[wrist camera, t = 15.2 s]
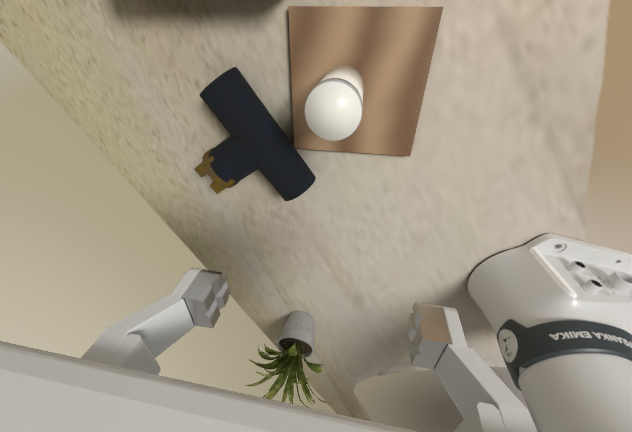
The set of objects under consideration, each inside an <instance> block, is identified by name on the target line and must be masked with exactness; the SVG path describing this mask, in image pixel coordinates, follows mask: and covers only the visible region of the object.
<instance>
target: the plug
mask: <svg viewBox="0 0 632 432" xmlns="http://www.w3.org/2000/svg"><path fill="white" fill-rule="evenodd" d="M363 92H364V82H363V78H362V76H361V74H360V72H359V71H358V70H357V69H356V68H355V67H353V66H351V65H347V64H340V65H337V66H335V67H333V68H332V69H330V70H329V71H328V73H327V74H326V75H325V76H324V77H323V79H322V80H321V81H320V82H319V83H318V84H317V85H316V86H315V87H314V89H313V90H312V91H311V92H310V94H309V95H308V97H307V99H306V103H305V108H304V113H305V119H306V122H307V124H308V126H309V128H310V129H311V130H312V132H313V133H315V134H316V135H317V136H318V137H320V138H322V139H325V140H329V141H338V140H342V139H345V138H347V137H349V136H350V135H351V134H352V133H353V132H354V131H355V130H356V129H357V128H358V126H359V124H360V122H361V118H362V110H363V104H362V103H363Z"/></svg>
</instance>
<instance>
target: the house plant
mask: <svg viewBox="0 0 632 432" xmlns="http://www.w3.org/2000/svg"><path fill="white" fill-rule="evenodd" d="M277 347H278V349H279V350H280V351H281V352H277V351H274V350H272V349H269V348H268V347H266V346H265V350H266V352H267V353H268V354H266V353H264V352H260V350H259V349H258V351H259V354H260V356H261V357H262V358H264V359H267V360H273V359H276V358H277V359H276V360H274V361H273V362H272V363H269V364H260V363H255V362H254V361H252V360H251V361H252V362H253V363H254V364H256V365H257V366H260V367H262V368H265V370H266V369H275V368H277V369H276V370H275V371H274V372H270V371H268V370H266V371H267V372H268V373H271V374H270V375H265V374H262V373H259V372H257V373H259V374H260V375H263V376H267V377H265V378H263V379H262V380H261V381H259V382H257V383H255V384H251V385H248V386H255V385H259V384H261V383H263V382H265V381H266V380H268V379H270V378H271V377H272V376H274V375H278V374H280V375H279V376H278V378H277V380H276V381H275V383H274V384H273V385H272V387H271V388H270V389H269V392H268V393H267V394H266V395H265V396H264V397H266V396H267V397H266V399H270V400H271V399H272V398H273V397H274V396H275V395H276V393H277V392H278V391H279V389H280V388H281V387H282V386H283V384H284V383H285V380H286V377H287V375H288V379H287V382H286V386H285V389H284V393H283V399H282V402H285V400H286V397H287V393H288V395H289V400H290V403H291V404H293V396H294V393H293V392H294V391H293V386H294V383H296V384H298V383H300V384H301V385H302V389H303V391H304V393H305V395H306V398H307V400H308V402H309V403H311V402H310V401H309V399H308V397H309V398H310V400H311V401H313V402H314V400H313V398H312V397H311V394H310V392H309V389H308V387H307V385H306V384H308V382H307V380H308V379H309V378H308V379H307V380H306V378H305V375H304V372H303V364H302V358H303V359H304V358H306V357H309V356H311V355H312V354H313V351H314V319H313V317H312V316H311V315H310V314H308V313H306V312H303V311H294V312H292V313H291V314H290V315H289V317H288V319H287V321H286V324H285V326H284V328H283V330H282V332H281V334H280V336H279V339H278V341H277ZM283 353H284V354H283ZM281 354H282V355H281ZM266 355H279V356H280V355H281V356H280V357H279V356H277V357H274V358H271V357H268V356H266ZM304 361H305V362H306V363H307V365H308V366H309V368H310V369H311V370H313V371H314V372H316V373H320V372H322V371H323V369H324V368H322V367H320V366H321V364H313V363H309V362H307V361H306V359H304ZM322 365H323V364H322ZM296 372H297V377H298V382H297V379H296V378H297V377H296ZM288 373H289V374H288ZM308 386H309V385H308ZM310 390H311V389H310ZM311 391H312V390H311ZM297 392H298V387H297ZM312 393H313V392H312ZM298 396H299V393H298ZM264 397H262V398H264ZM299 399H300V397H299ZM319 400H320V399H319ZM300 401H301V400H300ZM321 401H322V400H321ZM301 402H302V401H301ZM322 402H324V401H322ZM302 403H303V402H302ZM325 403H327V402H325ZM303 404H304V403H303ZM311 404H312V403H311ZM328 404H331V403H328ZM305 406H306V405H305ZM306 407H307V406H306ZM308 408H309V407H308Z"/></svg>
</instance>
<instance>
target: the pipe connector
mask: <svg viewBox="0 0 632 432" xmlns="http://www.w3.org/2000/svg"><path fill="white" fill-rule="evenodd" d="M200 97H201V98H202V99H203V100H204V102H205V103H206V104H207V105H208V107H209V108H210V109H211V110H212V111H213V113H214V114H215V115H216V116H217V118H218V119H219V120H220V121H221V122H222V124H223V125H224V126H225V127H226V129H227V130H228V131H229V132H230V134H231V136H230V137H228V138H227V139H226V140H224V141H223V142H222V143H220V144H219V145H218V146H216V147H215V148H212V149H210V150H209V151H208V152H206V153H205V154H204V156H203V162H202V163H201V164H200V165H199V166H197V167H196V168H195V169H194V170H195V171H196V172H197V173H198V174H199V175H200V176H201V177H204V176H205V175H207V174H208V175H209V176H210V178H211V179H212V180H213V181H214V182H213V183H212V184H211V185H210V187H211V188H212V189H213V190H214V191H215V192H216V193H217V194H218V193H219V192H221V191H222V190H224V189H225V188H231V187H233V186H234V185H236V184H238V183H239V181H240V180H242V179H243V178H245V177H246V176H248V175H249V174H251V173H252V172H254V171H255V170H257V169H260V170H261V172H262V173H263V174H264V175H265V177H266V178H267V179H268V180H269V181H270V183H271V184H272V185H273V186H274V188H275V189H276V190H277V191H278V193H279V194H280V195H281V196H282V197H283V199H284V200H285V201H289V200H292V199H294V198H296V197H298V196H300V195H301V194H303V193H304V192H305V191H306V190H307V189H308V188H309V187H310V186H311V185H312V184H313V183H314V181H315V176H314V174H313V173H312V172H311V170H310V169H309V167H308V166H307V165H306V163H305V162H304V160H303V159H302V158H301V156H300V155H299V153H298V152H297V151H296V149H295V148H294V146H293V145H292V144H291V142H290V141H289V140H288V138H287V137H286V135H285V134H284V133H283V131H282V130H281V128H280V127H279V126H278V124H277V123H276V121H275V120H274V119H273V117H272V116H271V115H270V113H269V112H268V110H267V109H266V108H265V106H264V105H263V103H262V102H261V101H260V99H259V98H258V96H257V95H256V94H255V92H254V91H253V90H252V88H251V87H250V85H249V84H248V83H247V81H246V80H245V78H244V77H243V76H242V74H241V73H240V71H239V70H238V69H237V67H234V68H232V69H230V70H228V71H226V72H225V73H223V74H222V75H220V76H219V77H218V78H216V79H215V80H214V81H213V82H212V83H210V84H209V85H208V86H207V87H206V88H205V89H204V90H203V91H202V92H201V94H200Z"/></svg>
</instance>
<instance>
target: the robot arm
mask: <svg viewBox="0 0 632 432" xmlns="http://www.w3.org/2000/svg"><path fill="white" fill-rule="evenodd" d="M226 279H227V277H226V273H221V272H216V271H210V270H204V269H199V268H191V269H189V270H188V272H187V273H186V274H185V275H184V277H183V278H182V279H181V281H180V282H179V283H178V285H177V286H176V287H175V288H174V290H173V291H172V292H171V294H170V295H169V296H164V297H162V298H160V299H159V300H157V301H155V302H153V303H151V304H150V305H148V306H146V307H144V308H142V309H141V310H139V311H137V312H135V313H134V314H132V315H130V316H129V317H126V318H124V319H123V320H121V321H119V322H117V323H116V324H114V325H112V326H110V327H108V328H107V329H106V330H105V332H104V333H103V334H102V335H101V336H100V337H99V338H98V339H97V341H96V342H95V343H94V344H93V345H92V346H91V347H90V349H89V350H88V351H87V352H86V353H85V354H84V355H83V356H82V357H81V359H80V358H76V357H71V356H66V355H62V354H57V353H52V352H48V351H43V350H38V349H34V348H29V347H25V346H20V345H16V344H11V343H7V342H2V341H0V432H418V431H413V430H409V429H404V428H400V427H395V426H390V425H386V424H381V423H376V422H372V421H367V420H363V419H358V418H353V417H349V416H344V415H340V414H335V413H330V412H326V411H321V410H316V409H312V408H307V407H303V406H298V405H293V404H288V403H284V402H279V401H275V400H270V399H266V398H261V397H256V396H252V395H247V394H243V393H238V392H233V391H228V390H224V389H219V388H215V387H210V386H205V385H201V384H196V383H192V382H187V381H182V380H177V379H173V378H168V377H164V376H159V375H158V374H159V372H160V366H159V364H158V363H157V361H156V360H155V358H156V357H157V356H158V355H159V354H161V353H162V352H163V351H165V350H166V349H167V348H168V347H169V346H171V345H172V344H173V343H174V342H176V341H177V340H178V339H179V338H181V337H182V336H183V335H185V334H186V333H187V332H188V331H190V330H191V329H192V328H193V327H194V325H196V326H203V327H209V328H213V327H214V325H215V323H216V322H217V320H218V318H219V316H220V311H219V310H220V309H221V308H223V307H224V306H225V305H226V303H227V301H228V298H229V294H230V289H229V285H228V284H227V283H226V282H225V281H226ZM468 292H469V295H470V296H471V298H472V299H473V300H474V301H475V303H476V304H477V305H478V306H479V308H480V309H481V311H482V312H483V313H484V315H485V317H486V318H487V320H488V321H489V323H490V325H491V327H492V328H493V330H494V332H495V334H496V336H497V340H498V344H499V347H500V350H501V353H502V356H503V358H504V361H505V363H506V366H507V368H508V371H509V373H510V375H511V377H512V379H513V381H514V384H515V386H516V387H517V388H518V389H519V390H520V391H522V394H523V396H524V398H525V401H526V403H527V406H528V408H529V411H530V413H531V416H532V418H533V421H534V423H535V426H536V428H537V431H538V432H632V254H629V253H625V252H621V251H617V250H613V249H609V248H606V247H601V246H597V245H594V244H590V243H586V242H583V241H579V240H575V239H571V238H567V237H563V236H559V235H556V234H545V235H542V236H540V237H538V238H536V239H534V240H532V241H530V242H529V243H527V244H526V245H523V246H521V247H518V248H514V249H511V250H507V251H504V252H502V253H499V254H497V255H495V256H493V257H491V258H489V259H487V260H486V261H484V262H483V263H481V264H480V265H479V266H478V267H477V268H476V269H475V270H474V271H473V273H472V274H471V276H470V278H469V281H468ZM408 338H409V339H410V340H411V342H412V343H411V346H410V357H411V365H415V366H419V367H424V368H429V369H434V372H435V374H436V375H437V377H438V378H439V380H440V382H441V383H442V385H443V386H444V388H445V389H446V391H447V393H448V394H449V396H450V397H451V399H452V400H453V402H454V404H455V405H456V407H457V408H458V410H459V411H460V413H461V415H462V416H463V418H464V421H463V422H462V423H461V424H460V425H459V426H458V428H457V429H456V430H455V431H454V432H537V431H536V428H535V426H534V423H533V421H532V418H531V416H530V413H529V411H528V410H527V408H526V407H525V406H524V405H523V404H522V403H521V402H520V401H519V400H518V399H517V397H516V396H515V395H514V394H513V393H512V392H511V391H510V390H509V389H508V388H507V386H506V385H504V383H503V382H502V381H501V380H500V379H499V378H498V377H497V375H496V374H495V373H494V372H493V371H492V370H491V369H490V368H489V367H488V365H487V364H486V363H485V362H484V361H483V360H482V359H481V358H480V357H479V356H478V354H477V353H476V352H475V351H474V350H473V349H472V348H468V347H467V343H466V340H465V336H464V333H463V329H462V326H461V322H460V319H459V315H458V312H457V310H456V309H455V308H451V307H444V306H439V305H432V304H425V303H418V302H415V304H414V306H413V313H412V314H410V317H409V321H408Z"/></svg>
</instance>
